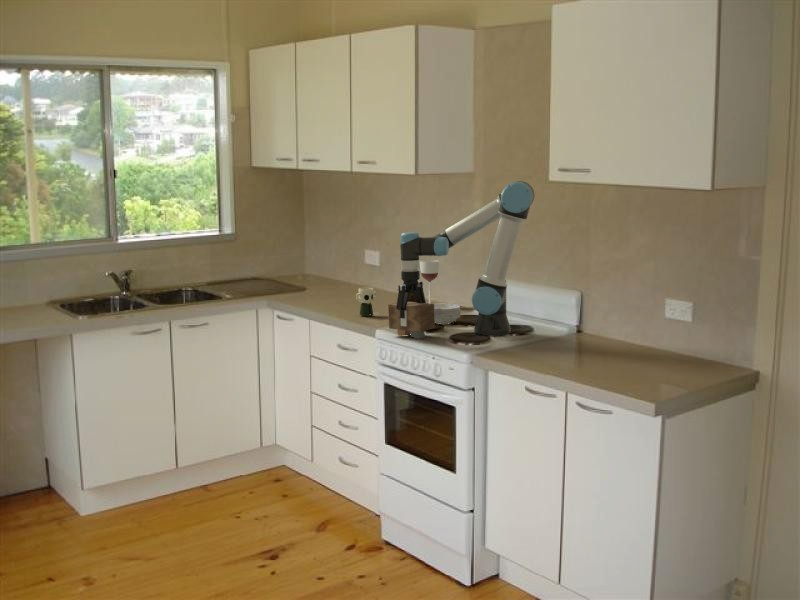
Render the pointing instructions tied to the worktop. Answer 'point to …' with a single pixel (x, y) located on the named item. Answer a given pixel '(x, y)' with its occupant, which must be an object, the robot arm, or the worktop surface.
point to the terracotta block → (403, 332)
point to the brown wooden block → (413, 317)
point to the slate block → (417, 334)
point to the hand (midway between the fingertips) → (411, 323)
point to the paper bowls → (446, 313)
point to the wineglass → (429, 272)
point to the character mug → (366, 300)
